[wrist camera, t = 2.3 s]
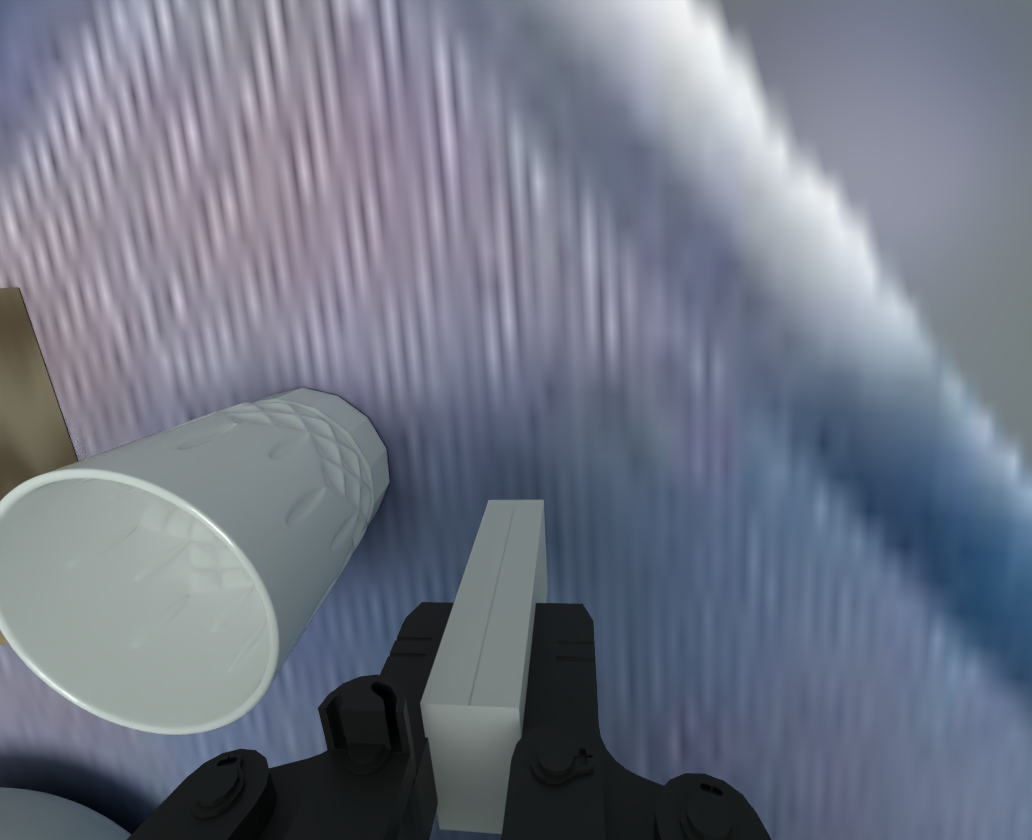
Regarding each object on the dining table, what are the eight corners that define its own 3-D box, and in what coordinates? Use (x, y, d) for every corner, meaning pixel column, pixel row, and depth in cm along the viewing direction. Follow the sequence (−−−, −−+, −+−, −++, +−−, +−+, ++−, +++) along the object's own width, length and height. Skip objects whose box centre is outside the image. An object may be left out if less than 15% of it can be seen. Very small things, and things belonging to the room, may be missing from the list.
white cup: (437, 503, 22) (337, 687, 13) (294, 564, 24) (113, 766, 15) (341, 341, 20) (142, 414, 11) (195, 420, 22) (-86, 542, 13)
